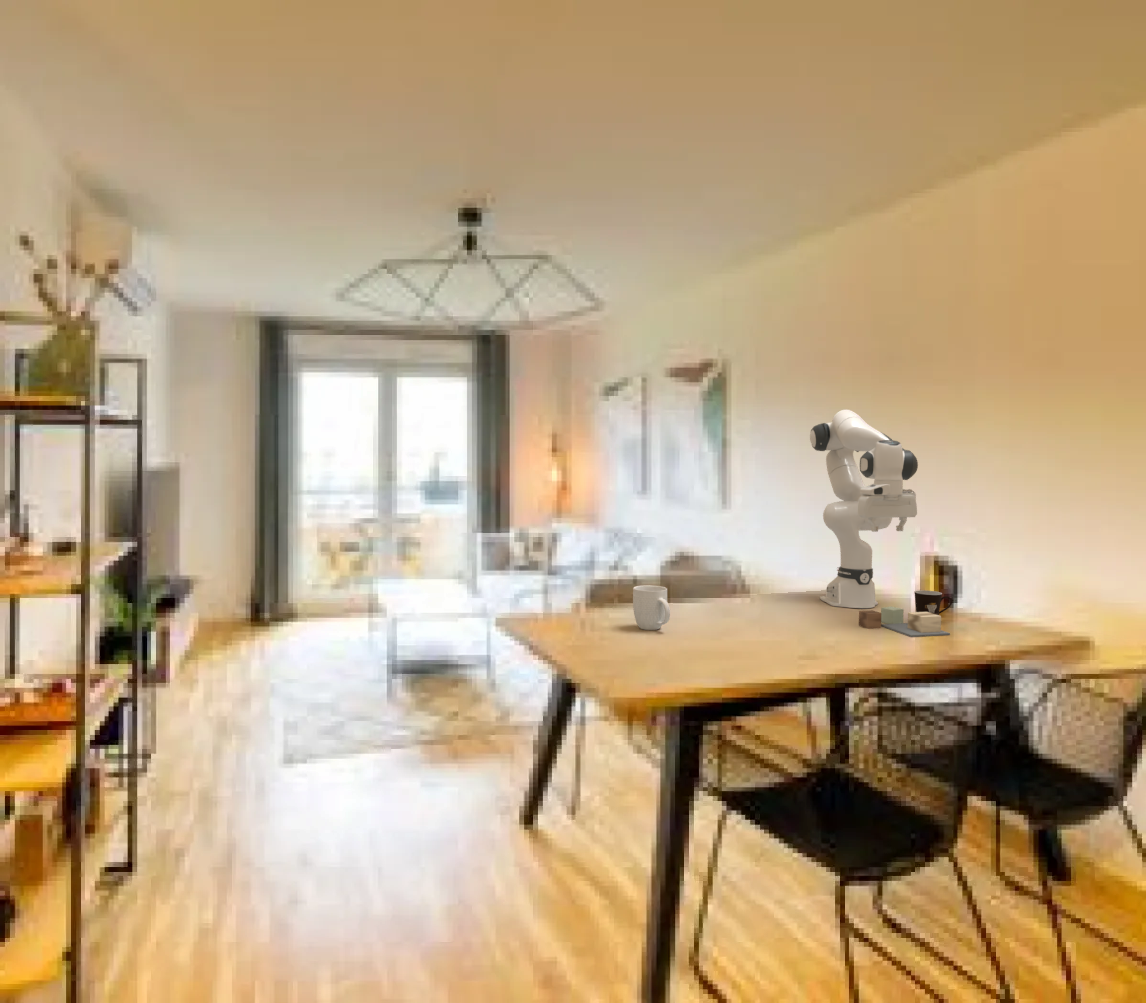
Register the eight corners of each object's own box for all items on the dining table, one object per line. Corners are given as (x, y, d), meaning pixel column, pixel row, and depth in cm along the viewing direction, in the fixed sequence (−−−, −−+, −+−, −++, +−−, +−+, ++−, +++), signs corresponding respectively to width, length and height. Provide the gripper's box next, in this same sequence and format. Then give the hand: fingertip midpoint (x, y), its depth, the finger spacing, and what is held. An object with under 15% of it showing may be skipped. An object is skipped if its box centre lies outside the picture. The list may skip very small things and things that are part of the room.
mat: (880, 626, 272) (880, 624, 272) (917, 624, 275) (917, 622, 275) (911, 637, 256) (911, 635, 256) (949, 635, 260) (950, 633, 260)
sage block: (880, 622, 279) (881, 607, 278) (890, 620, 281) (891, 606, 281) (892, 625, 274) (893, 610, 274) (903, 623, 277) (903, 609, 276)
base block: (907, 627, 267) (908, 612, 267) (926, 626, 269) (926, 611, 268) (921, 632, 260) (922, 617, 260) (940, 631, 262) (941, 616, 261)
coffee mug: (912, 622, 278) (913, 593, 277) (914, 618, 285) (915, 589, 285) (949, 626, 272) (951, 596, 272) (951, 621, 280) (952, 592, 279)
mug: (681, 631, 261) (682, 590, 261) (654, 635, 255) (655, 594, 255) (652, 623, 274) (652, 584, 273) (625, 626, 268) (626, 587, 267)
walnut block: (858, 625, 273) (859, 610, 273) (872, 625, 274) (872, 610, 274) (867, 629, 268) (867, 613, 268) (880, 628, 269) (881, 613, 269)
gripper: (909, 489, 276) (908, 530, 277) (855, 489, 271) (854, 531, 272) (921, 489, 270) (920, 531, 271) (866, 489, 265) (865, 532, 266)
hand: (887, 531), depth 271 cm, fingers open, 8 cm apart
